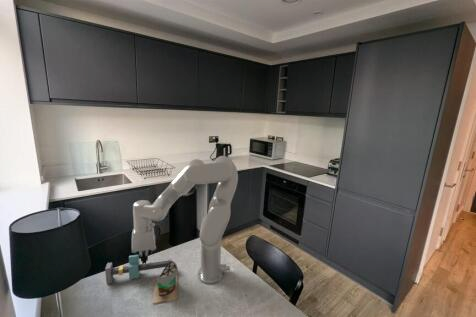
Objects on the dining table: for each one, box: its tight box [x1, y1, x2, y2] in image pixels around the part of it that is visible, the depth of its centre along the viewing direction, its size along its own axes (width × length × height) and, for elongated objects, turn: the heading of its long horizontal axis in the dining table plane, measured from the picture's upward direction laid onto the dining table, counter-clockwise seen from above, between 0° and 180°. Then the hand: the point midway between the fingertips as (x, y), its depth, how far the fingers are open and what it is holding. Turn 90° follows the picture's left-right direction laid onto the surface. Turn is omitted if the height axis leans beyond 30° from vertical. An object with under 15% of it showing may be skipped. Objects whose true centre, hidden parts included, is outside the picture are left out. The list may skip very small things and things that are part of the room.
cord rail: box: [104, 258, 173, 285], centre depth 109 cm, size 29×4×8 cm, turn 107°
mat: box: [152, 276, 179, 305], centre depth 102 cm, size 10×13×1 cm
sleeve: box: [128, 254, 141, 280], centre depth 108 cm, size 4×6×10 cm
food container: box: [156, 259, 179, 296], centre depth 102 cm, size 12×6×10 cm, turn 171°
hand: (144, 261), depth 109 cm, fingers closed
